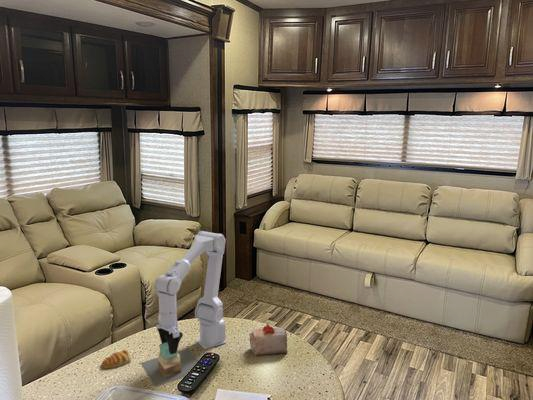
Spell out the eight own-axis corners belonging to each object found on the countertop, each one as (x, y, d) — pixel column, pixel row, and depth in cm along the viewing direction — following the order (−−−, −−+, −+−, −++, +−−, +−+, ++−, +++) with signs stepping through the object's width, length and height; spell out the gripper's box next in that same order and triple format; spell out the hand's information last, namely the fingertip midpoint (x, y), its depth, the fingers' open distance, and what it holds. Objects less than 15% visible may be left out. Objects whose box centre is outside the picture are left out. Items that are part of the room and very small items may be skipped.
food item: (252, 358, 148) (252, 333, 146) (248, 347, 156) (249, 323, 154) (288, 354, 151) (289, 330, 149) (283, 343, 158) (283, 320, 157)
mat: (187, 349, 153) (187, 348, 153) (206, 370, 140) (206, 369, 140) (140, 363, 143) (140, 362, 143) (155, 387, 130) (155, 386, 130)
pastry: (106, 373, 138) (105, 363, 137) (98, 365, 142) (98, 355, 142) (132, 363, 144) (132, 353, 143) (124, 355, 149) (124, 345, 148)
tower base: (174, 363, 143) (174, 355, 142) (181, 372, 138) (181, 364, 138) (158, 369, 140) (157, 361, 139) (164, 377, 135) (164, 369, 134)
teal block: (172, 349, 141) (172, 340, 140) (177, 355, 137) (177, 346, 136) (160, 353, 138) (159, 344, 138) (164, 359, 135) (164, 350, 134)
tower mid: (174, 356, 142) (173, 348, 142) (180, 363, 138) (180, 355, 137) (158, 361, 139) (158, 353, 138) (164, 369, 135) (164, 360, 134)
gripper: (149, 305, 139) (150, 341, 141) (164, 322, 127) (165, 361, 129) (168, 300, 143) (169, 336, 145) (185, 316, 131) (186, 355, 133)
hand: (169, 348), depth 137 cm, fingers open, 7 cm apart
